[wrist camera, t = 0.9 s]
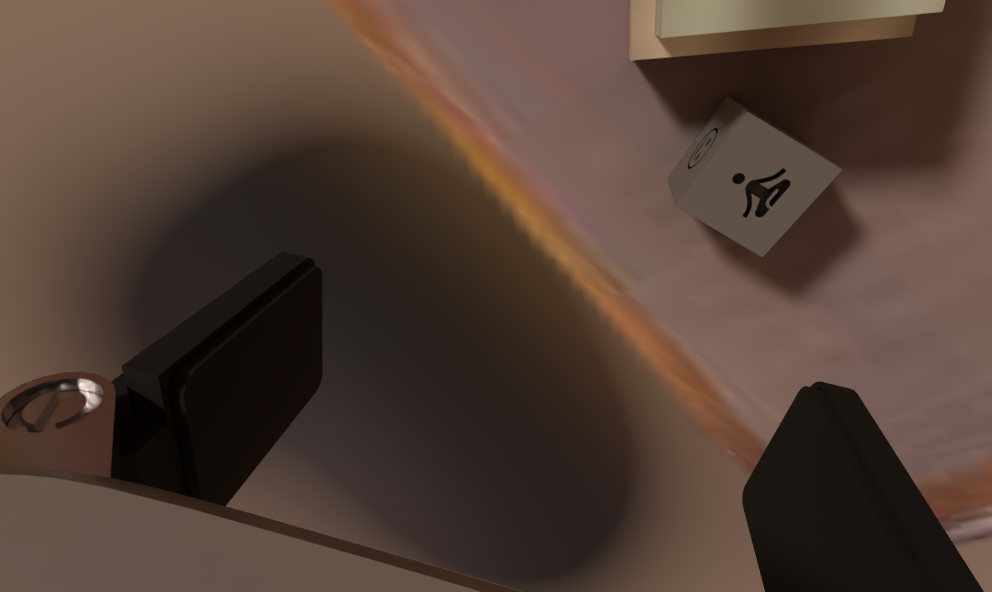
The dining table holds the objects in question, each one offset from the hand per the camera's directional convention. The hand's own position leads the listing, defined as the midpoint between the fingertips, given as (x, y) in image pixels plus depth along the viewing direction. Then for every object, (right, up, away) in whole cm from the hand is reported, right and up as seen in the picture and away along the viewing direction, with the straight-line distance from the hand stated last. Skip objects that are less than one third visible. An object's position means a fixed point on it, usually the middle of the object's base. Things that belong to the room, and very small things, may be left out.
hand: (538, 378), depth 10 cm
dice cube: (+12, +9, +19) cm, 24 cm away
